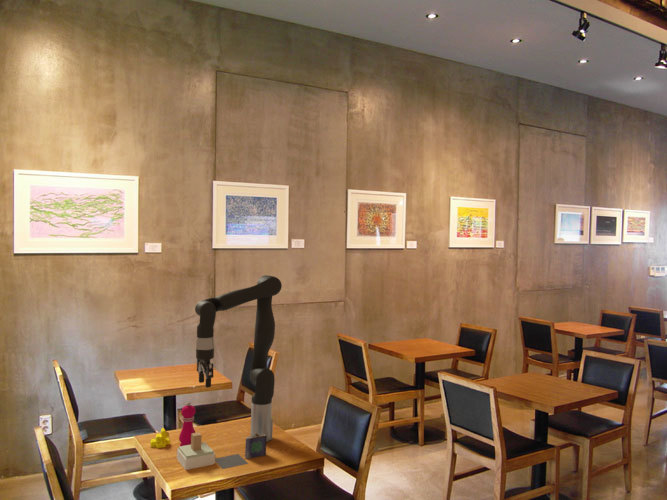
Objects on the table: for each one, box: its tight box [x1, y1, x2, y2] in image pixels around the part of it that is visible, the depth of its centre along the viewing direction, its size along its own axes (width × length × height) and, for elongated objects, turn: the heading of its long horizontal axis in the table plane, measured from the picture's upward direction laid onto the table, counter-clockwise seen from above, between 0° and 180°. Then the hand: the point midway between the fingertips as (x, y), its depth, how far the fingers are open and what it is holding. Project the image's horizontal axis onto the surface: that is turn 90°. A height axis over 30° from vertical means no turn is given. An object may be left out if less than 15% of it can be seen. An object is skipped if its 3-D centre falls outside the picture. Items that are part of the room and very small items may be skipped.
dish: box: [176, 448, 216, 471], centre depth 209 cm, size 12×12×4 cm
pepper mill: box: [178, 401, 196, 447], centre depth 224 cm, size 7×7×20 cm
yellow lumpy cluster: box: [149, 427, 171, 449], centre depth 226 cm, size 6×8×8 cm
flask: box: [244, 431, 267, 460], centre depth 217 cm, size 9×3×11 cm, turn 121°
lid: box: [178, 432, 215, 459], centre depth 209 cm, size 11×11×7 cm
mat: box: [215, 453, 249, 470], centre depth 211 cm, size 11×11×1 cm
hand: (204, 384), depth 222 cm, fingers open, 8 cm apart
